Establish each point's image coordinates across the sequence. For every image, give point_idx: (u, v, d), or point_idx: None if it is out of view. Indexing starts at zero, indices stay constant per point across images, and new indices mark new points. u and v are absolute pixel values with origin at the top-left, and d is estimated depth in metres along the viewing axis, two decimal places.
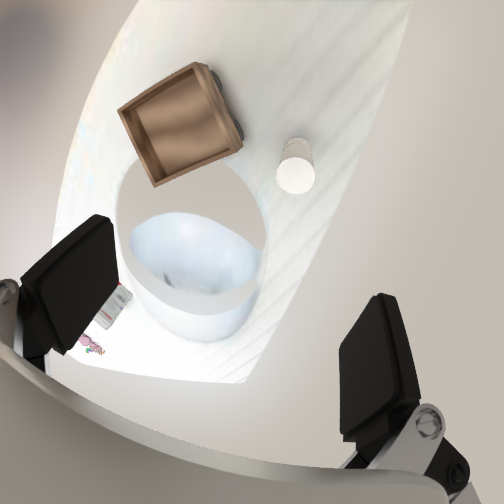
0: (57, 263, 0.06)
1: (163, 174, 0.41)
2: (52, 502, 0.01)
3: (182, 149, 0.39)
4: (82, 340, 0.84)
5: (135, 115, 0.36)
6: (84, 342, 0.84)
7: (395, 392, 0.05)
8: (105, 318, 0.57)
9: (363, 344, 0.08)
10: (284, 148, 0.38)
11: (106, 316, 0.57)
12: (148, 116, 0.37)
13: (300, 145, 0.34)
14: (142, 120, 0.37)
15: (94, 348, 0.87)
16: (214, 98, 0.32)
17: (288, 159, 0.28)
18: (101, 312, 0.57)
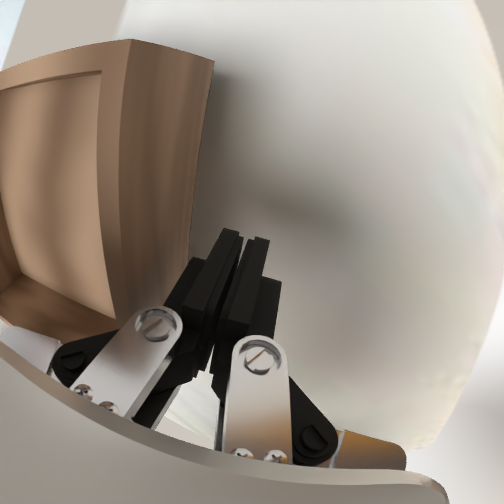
0: (217, 284, 0.07)
1: None
2: (52, 502, 0.01)
3: (16, 170, 0.10)
4: None
5: None
6: None
7: (225, 315, 0.06)
8: None
9: None
10: None
11: None
12: None
13: None
14: None
15: None
16: None
17: None
18: None
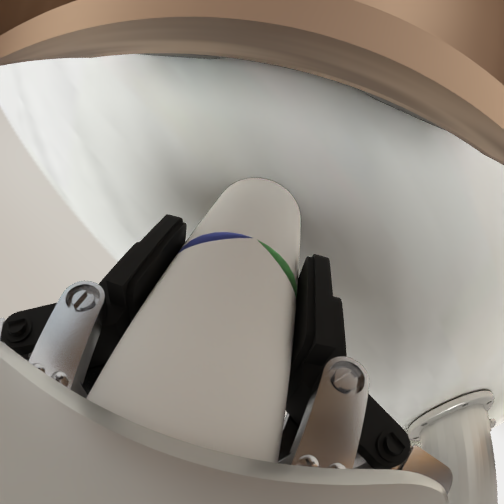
0: (145, 263, 0.07)
1: None
2: (52, 502, 0.01)
3: None
4: None
5: None
6: None
7: (308, 339, 0.06)
8: None
9: None
10: (291, 233, 0.10)
11: None
12: None
13: None
14: None
15: None
16: (347, 59, 0.03)
17: None
18: None
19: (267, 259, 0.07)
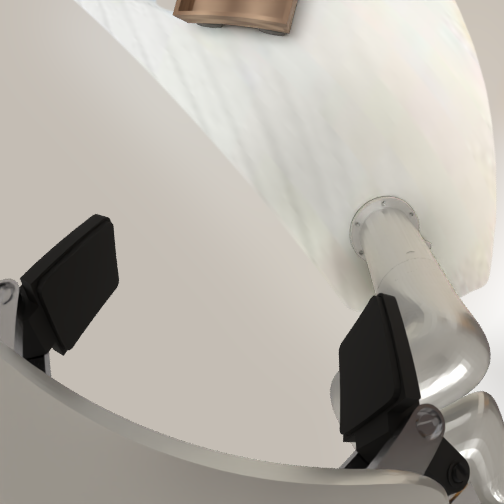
0: (57, 263, 0.06)
1: None
2: (52, 502, 0.01)
3: None
4: None
5: None
6: None
7: (395, 392, 0.05)
8: None
9: (363, 344, 0.08)
10: None
11: None
12: None
13: None
14: None
15: None
16: (237, 18, 0.23)
17: None
18: None
19: None
